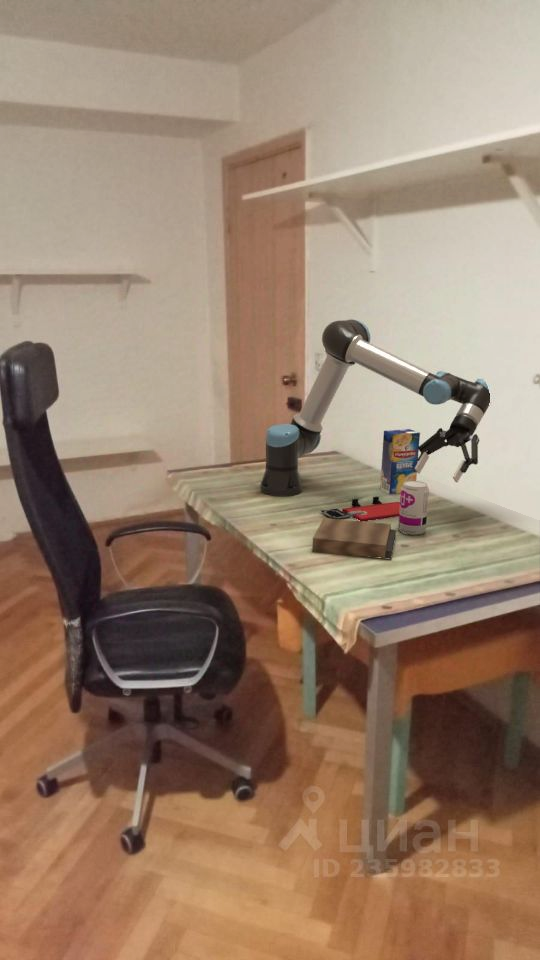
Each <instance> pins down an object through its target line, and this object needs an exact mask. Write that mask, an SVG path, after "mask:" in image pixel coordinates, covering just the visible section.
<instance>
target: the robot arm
mask: <svg viewBox="0 0 540 960" xmlns="http://www.w3.org/2000/svg"><path fill="white" fill-rule="evenodd" d="M321 340H322V341H321V342H322V346H323V348H324V352H325V354H326V358H325V360H324V361H323V364H322V365H321V368H320V370H319V372H318V374H317V376H316V378H315V381H314V383H313V385H312V387H311V389H310V391H309V393H308V395H307V397H306V399H305V401H304V404H303V406H302V407H301V410H300V412H299V413H297V414H294V415H293V417H292V420H291V421H290V424H289V423H281V424H275V425H272V426H270V427H269V428H268V429H267V430H266V436H265V471H264V474H263V476H262V479H261V482H260V492H261V493H262V494H266V495H269V496H275V497H289V496H295V495H299V494H301V493H302V492H303V484H302V480H301V477H300V476H301V475H300V472H299V458H300V457H302V456H305V455H308V454H310V453H312V452H314V450H316V449H317V448H318V447H319V445H320V442H321V438H322V437H321V433H322V430H323V426H322V421H323V419H324V417H325V416H326V413H327V411H328V409H329V408H330V405H331V403H332V401H333V399H334V397H335V396H336V393H337V391H338V389H339V387H340V385H341V383H342V381H343V380H344V377H345V375H346V373H347V371H348V369H349V367H352V366H354V365H356V364H357V365H359V366H361V367H363V368H365V369H367V370H369V371H372V372H373V373H376V374H377V375H379V376H381V377H383V378H385V379H387V380H389V381H391V382H394V383H395V384H398V385H399V386H401V387H404V388H405V389H407V390H409V391H411V392H413V393H415V394H418V395H420V396H421V397H423V398H424V400H425V401H426V402H427V403H428V404H430V405H436V406H437V405H441V404H442V405H443V404H445V403H447V401H450V400H451V401H454V402H457V403H458V404H461V406H460V408H459V409H458V411H457V412H456V415H455V417H454V418H453V420H452V421H451V423H450V426H449V428H448V429H447V430H443V428H442V427H440V428H439V429H438V430H437V431H436V432H434V434H433V435H432V436H430V437H429V438H427V440H425V441H424V442H423V443H422V444H419V447H418V449H419V452H420V454H419V455H418V463H417V465H416V467H415V470H416V471H417V474H420V473H421V472H422V470H423V469H424V466H425V465H426V463H427V462H428V461H429V458H430V457H429V456H430V455H431V454H434V453H435V452H437V451H438V450H440V449H442V448H444V447H445V448H446V447H448V446H449V447H450V446H451V447H455V448H459V447H460V448H461V450H462V455H463V458H464V459H461V461H460V463H459V464H458V466H457V468H456V470H455V472H454V473H453V475H452V479H453V481H454V482H455V483H458V482H459V481H460V479H461V477H462V475H463V474H465V473H466V472H467V471H468V469H469V467H470V466H471V465H475V466H476V465H478V464H479V454H478V453H479V452H478V451H479V449H478V448H479V446H478V445H479V442H480V437H479V436H478V434H477V433H475V432H476V430H477V428H478V426H479V424H480V423H481V420H482V419H483V417H484V415H485V414H486V412H487V410H488V408H489V406H490V405H489V403H490V393H489V389H488V386H487V384H486V382H485V381H484V380H483V379H484V378H483V379H479V378H477V379H476V380H475V381H470V380H467V379H465V378H462V377H459V376H456V375H454V374H451V373H450V372H446V371H443V370H440V371H437V372H436V373H435V374H433V373H431V372H430V371H428V370H425V369H424V368H421V367H419V366H417V365H415V364H414V363H411V362H409V361H408V360H405V359H403V358H401V357H399V356H397V355H395V354H393V353H391V352H388V351H386V350H384V349H383V348H380V347H378V346H376V345H375V344H373V343H370V342H371V333H370V330H369V328H368V327H367V325H366V324H365V323H364V322H362V321H360V320H357V319H351V318H350V319H345V320H334V321H332V322H330V323H329V324H327V326H325V328H324V329H323V331H322V336H321ZM490 404H491V403H490ZM474 433H475V434H474ZM469 442H471V444H470V451H471V452H470V453H471V455H470V453H469V451H468V447H467V445H466V443H469ZM470 456H471V457H470Z"/></svg>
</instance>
